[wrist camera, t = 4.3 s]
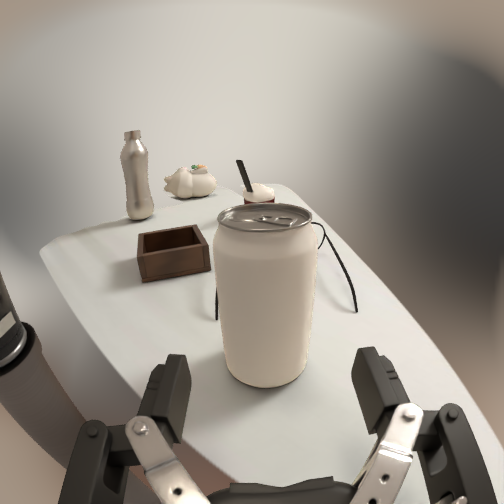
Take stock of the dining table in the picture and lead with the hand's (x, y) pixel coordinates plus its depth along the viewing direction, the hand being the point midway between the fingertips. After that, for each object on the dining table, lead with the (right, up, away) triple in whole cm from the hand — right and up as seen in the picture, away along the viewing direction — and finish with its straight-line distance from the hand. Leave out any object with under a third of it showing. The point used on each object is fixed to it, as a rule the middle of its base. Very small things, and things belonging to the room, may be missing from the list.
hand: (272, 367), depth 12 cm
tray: (-12, +4, +27) cm, 30 cm away
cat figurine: (-18, +21, +66) cm, 71 cm away
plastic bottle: (-26, +13, +49) cm, 57 cm away
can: (0, -4, +9) cm, 10 cm away
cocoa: (0, +13, +46) cm, 48 cm away
